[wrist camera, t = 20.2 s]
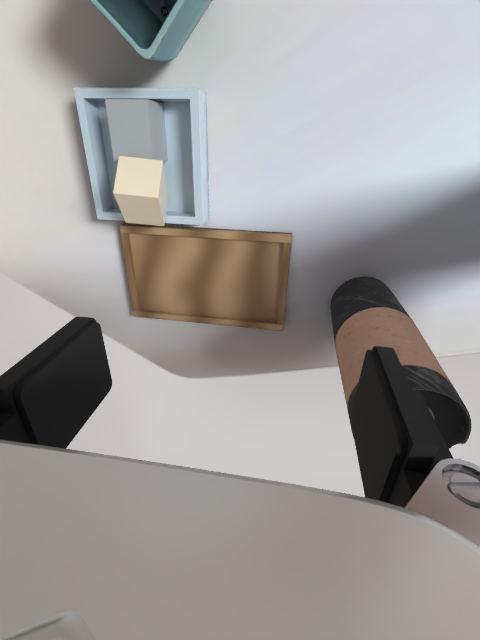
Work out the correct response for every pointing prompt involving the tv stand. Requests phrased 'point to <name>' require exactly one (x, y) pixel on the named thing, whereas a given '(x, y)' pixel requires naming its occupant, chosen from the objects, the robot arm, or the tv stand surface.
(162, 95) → the light blue tray
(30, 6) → the tv stand surface
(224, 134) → the tv stand surface
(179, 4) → the flower pot
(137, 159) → the cream rectangular block
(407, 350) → the travel mug
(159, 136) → the gray block
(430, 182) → the tv stand surface
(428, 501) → the robot arm
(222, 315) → the walnut tray
